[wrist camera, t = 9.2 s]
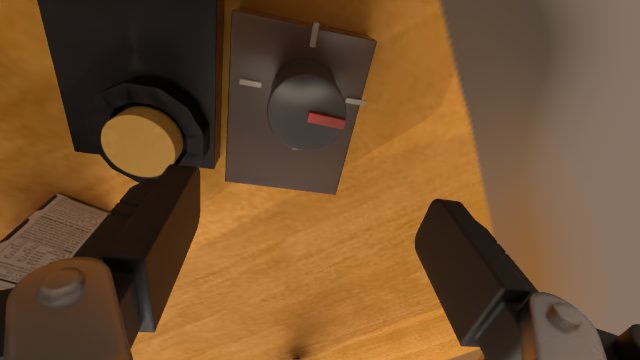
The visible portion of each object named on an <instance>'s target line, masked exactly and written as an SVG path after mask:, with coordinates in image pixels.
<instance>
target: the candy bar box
mask: <svg viewBox="0 0 640 360" xmlns="http://www.w3.org/2000/svg"><path fill="white" fill-rule="evenodd" d="M108 214H111V213H109V212H107V211H105V210H103V209H100V208H98V207H94V206H91V205H88V204H85V203H82V202H80V201H77V200H75V199H73V198H70V197H67V196H64V195H62V194H59V193H56V194H55V195H54V196H53V197H52V198H50V199H49V200H48V201H47V202H46V203H45V204H44V205H42V206H41V207H40V208H39V209H38V210H36V211H35V212H34V213H33V214H32V215H30V216H29V217H28V218H27V219H26V220H25V221H23V222H22V223H21V224H20V225H19V226H18V227H16V228H15V229H14V230H13V231H12V232H11V233H9V234H8V235H7V236H6V237H5V238H4V239H3V240H1V241H0V290H4V289H9V288H14V287H15V286H16V285H17V284H18V283H19V282H20V281H21V280H22V279H23V278H24V277H26V276H27V275H28V274H30V273H31V272H33V271H34V270H36V269H38V268H40V267H42V266H44V265H47V264H49V263H52V262H55V261H58V260H62V259H66V258H72V256H73V255H74V254H75V253H76V252H77V251H78V249H79V248H80V247H81V246H82V245H83V243H84V242H85V241H86V240H87V239H88V238H89V236H90V235H91V234H92V233H93V232H94V230H95V229H96V228H97V227H98V226H99V225H100V223H101V222H102V221H103V220H104V219H105V217H106V216H107V215H108Z"/></svg>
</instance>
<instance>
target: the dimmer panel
mask: <svg viewBox="0 0 640 360" xmlns="http://www.w3.org/2000/svg"><path fill="white" fill-rule="evenodd" d="M376 43H377V41H376V40H374V39H372V38H370V37H369V36H367V35H363V34H358V33H353V32H349V31H344V30H340V29H335V28H330V27H326V26H321V25H319V23H317V22H313V24H312V23H307V22H302V21H298V20H293V19H289V18H284V17H279V16H275V15H270V14H265V13H261V12H256V11H251V10H247V9H242V8H239V9H235V10H232V19H231V45H230V70H229V96H228V121H227V147H226V172H225V181H227V182H235V183H243V184H252V185H260V186H268V187H276V188H284V189H293V190H301V191H309V192H317V193H325V194H334V195H335V194H336V191H337V188H338V184H339V180H340V176H341V173H342V169H343V165H344V162H345V158H346V154H347V150H348V147H349V143H350V139H351V135H352V132H353V128H354V124H355V121H356V117H357V113H358V109H359V106H360V105H361V106H365V103H366V101H365V100H361V98H362V95H363V91H364V87H365V83H366V80H367V76H368V72H369V69H370V65H371V61H372V57H373V54H374V50H375V46H376ZM301 58H308V59H313V60H316V61H318V62H320V63H322V64H323V65H325V66H326V67H327V68H328V69H329V70H330V72H331V73H332V75H333V77H334V79H335V81H336V83H337V85H338V87H339V89H340V91H341V93H342V95H343V98H344V100H345V104H346V123H345V126H344V129H343V130H341V132H340V134H339V135H338V136H337V137H336V138H335V139H334V140H333V141H332V142H331V143H329V144H328V145H326V146H324V147H322V148H319V149H316V150H309V151H303V150H297V149H294V148H291V147H289V146H287V145H285V144H284V143H282V142H281V141H280V140H279V139H278V138H277V137H276V136H275V135H274V134H273V132H272V130H271V128H270V126H269V123H268V119H267V105H268V101H269V96H270V92H271V88H272V84H273V80H274V78H275V76H276V74H277V72H278V71H279V70H280V69H281V68H282V67H283V66H284V65H285V64H286V63H288V62H290V61H292V60H295V59H301Z"/></svg>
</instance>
